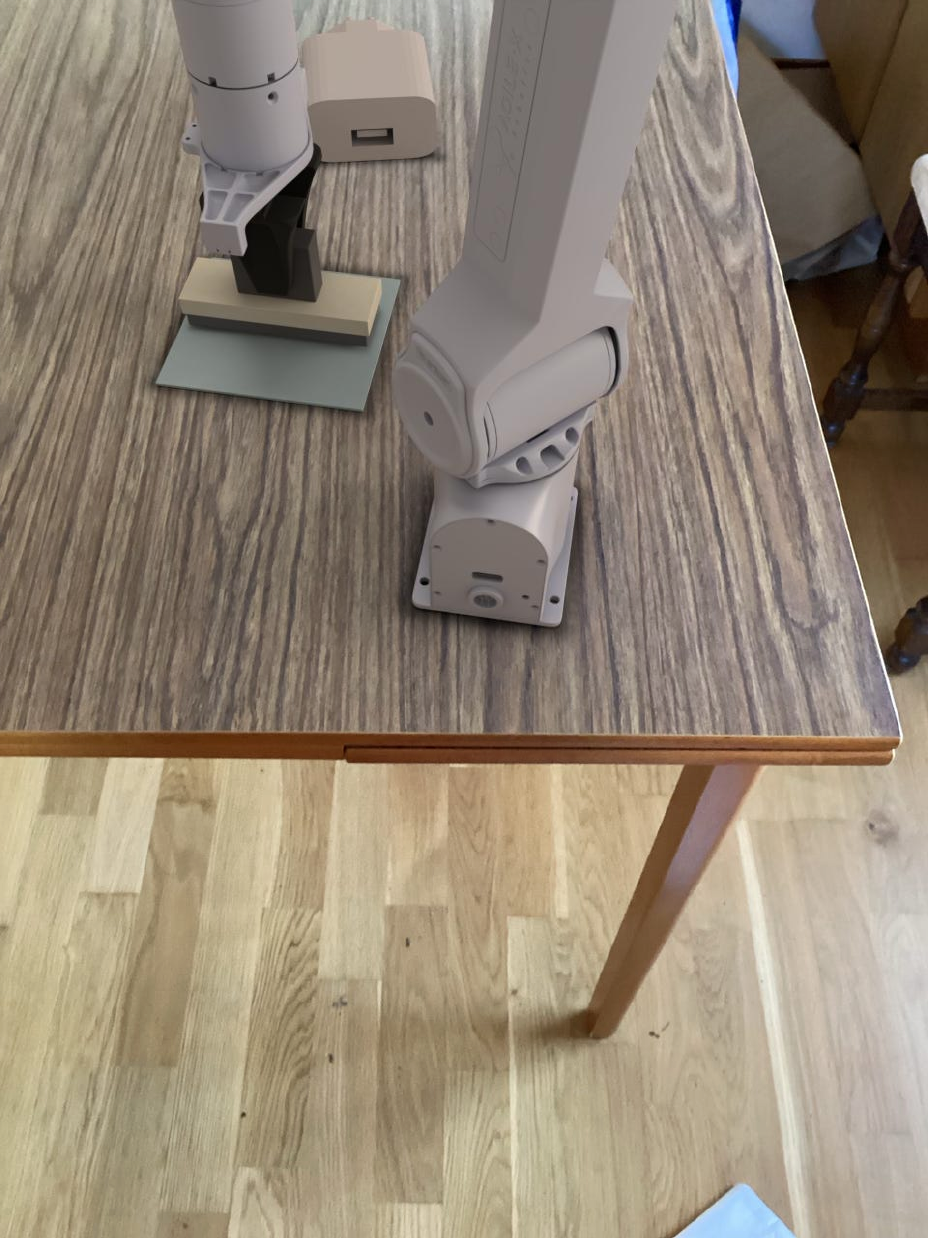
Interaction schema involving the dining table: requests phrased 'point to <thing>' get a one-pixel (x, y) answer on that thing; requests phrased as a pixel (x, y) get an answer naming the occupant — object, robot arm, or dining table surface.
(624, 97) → the robot arm
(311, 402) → the mat
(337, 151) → the charger
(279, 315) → the brush
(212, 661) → the dining table surface
